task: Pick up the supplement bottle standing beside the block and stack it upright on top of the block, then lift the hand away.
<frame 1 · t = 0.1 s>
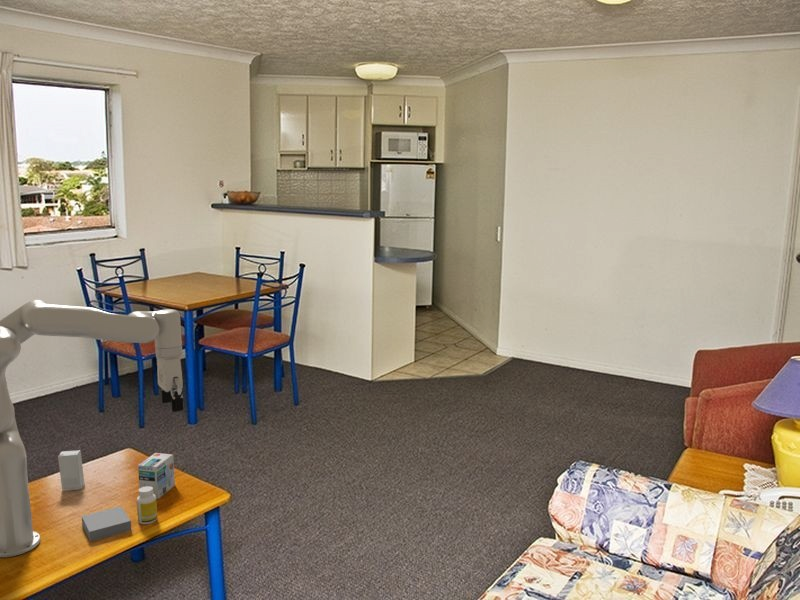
hand: (172, 406, 213), 31 cm above the table, tool pointing down, fingers open, 9 cm apart
supplement bottle: (147, 521, 208), on the table
light bulb box: (158, 491, 227), on the table
slate base block: (106, 528, 203), on the table
skincare box: (73, 488, 229), on the table
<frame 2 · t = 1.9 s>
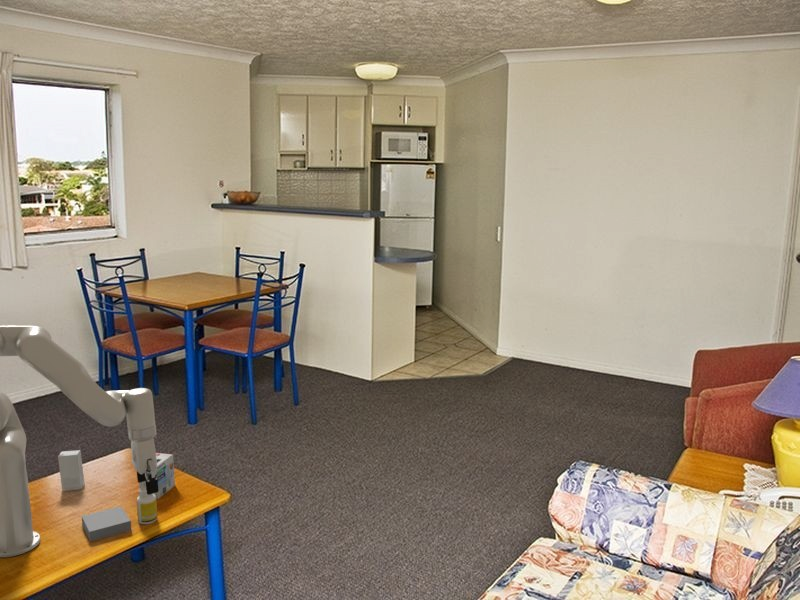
hand: (148, 487, 206), 10 cm above the table, tool pointing down, fingers open, 9 cm apart
nothing on the table moved.
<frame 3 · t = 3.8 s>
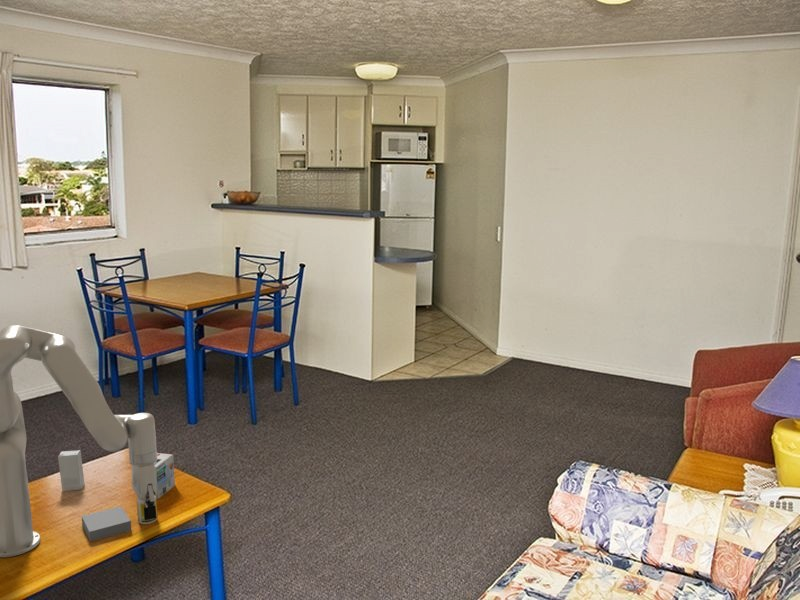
hand: (147, 513, 208), 2 cm above the table, tool pointing down, fingers closed on supplement bottle, 5 cm apart
supplement bottle: (147, 520, 208), on the table, touching gripper
everything else where it was.
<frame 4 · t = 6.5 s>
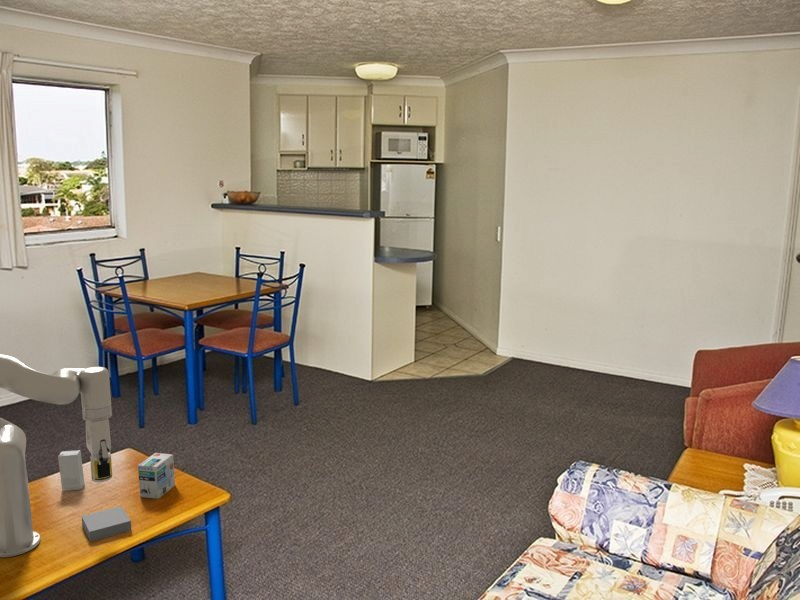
hand: (101, 472, 200), 17 cm above the table, tool pointing down, fingers closed on supplement bottle, 5 cm apart
supplement bottle: (102, 479, 201), point 15 cm above the table, touching gripper
everything else where it was.
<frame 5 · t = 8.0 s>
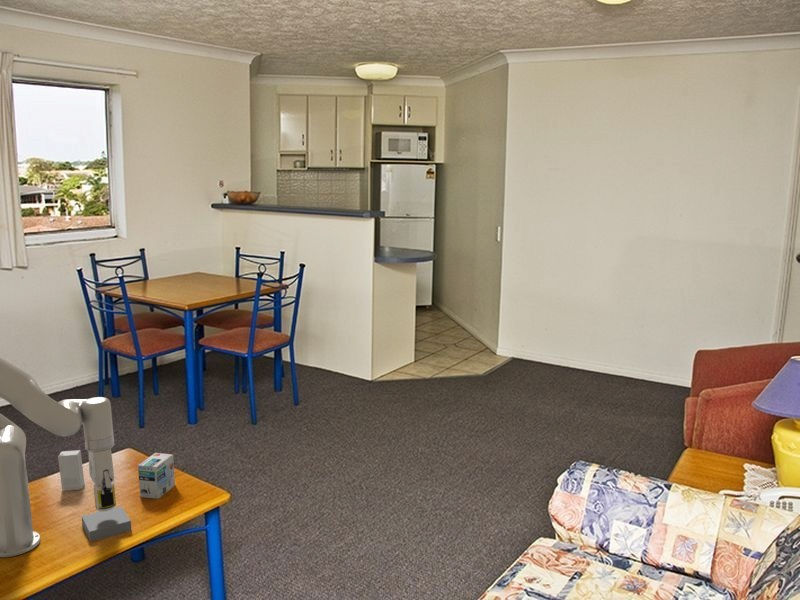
hand: (105, 501, 202), 8 cm above the table, tool pointing down, fingers closed on supplement bottle, 5 cm apart
supplement bottle: (106, 508, 202), point 6 cm above the table, touching gripper
everything else where it was.
when the fingers open (6 cm above the table, at t = 9.2 s): supplement bottle drops 1 cm, resting on slate base block.
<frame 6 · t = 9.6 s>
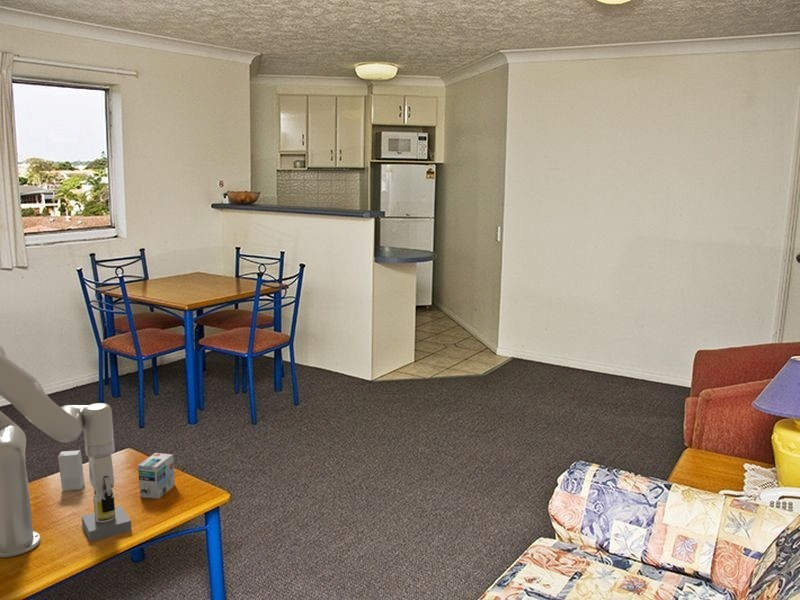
hand: (104, 504, 202), 7 cm above the table, tool pointing down, fingers open, 9 cm apart
supplement bottle: (105, 519, 203), point 3 cm above the table, touching slate base block
everything else where it was.
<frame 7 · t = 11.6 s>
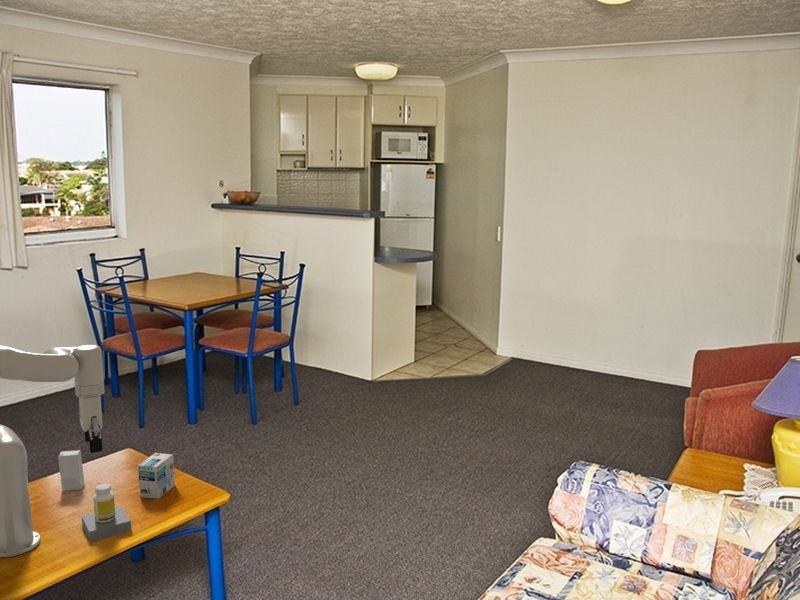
hand: (93, 446, 204), 23 cm above the table, tool pointing down, fingers open, 9 cm apart
nothing on the table moved.
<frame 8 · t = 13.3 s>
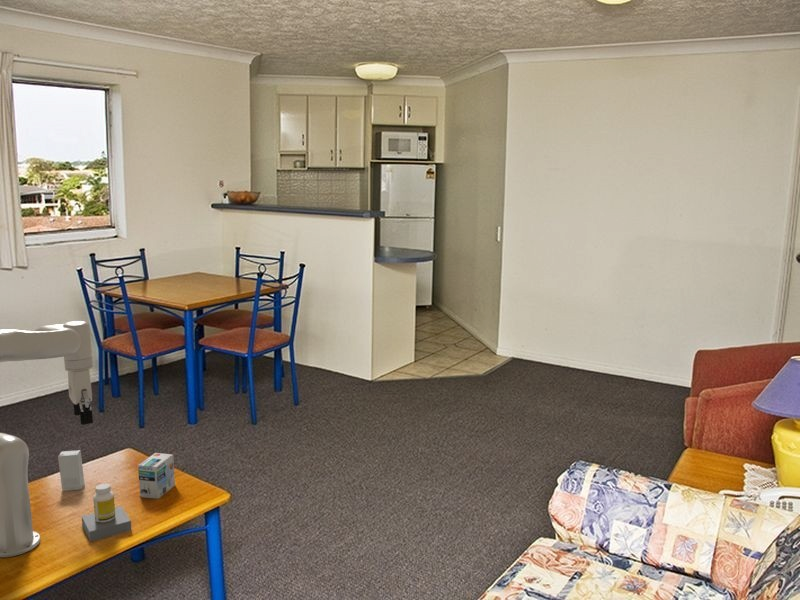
hand: (83, 419, 211), 28 cm above the table, tool pointing down, fingers open, 9 cm apart
nothing on the table moved.
at the end: supplement bottle 0.2 cm off-centre on the slate base block, point 2.8 cm above the slate base block's base; supplement bottle tilted 0°; the gripper is holding nothing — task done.
